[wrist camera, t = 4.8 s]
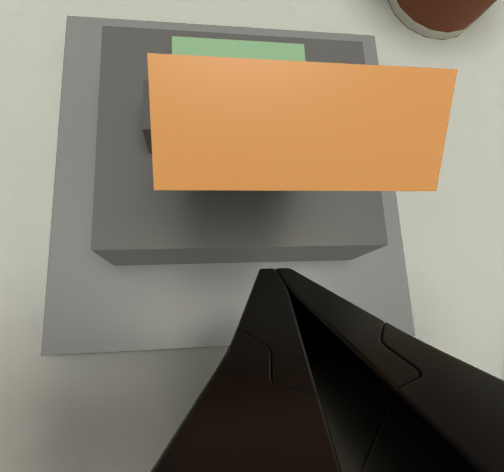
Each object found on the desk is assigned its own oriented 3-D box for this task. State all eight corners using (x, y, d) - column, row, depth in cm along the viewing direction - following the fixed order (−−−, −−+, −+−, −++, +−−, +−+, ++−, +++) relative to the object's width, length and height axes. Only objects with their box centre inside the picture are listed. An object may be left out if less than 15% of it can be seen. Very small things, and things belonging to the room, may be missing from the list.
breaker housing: (404, 335, 20) (507, 341, 13) (49, 354, 18) (-44, 373, 11) (367, 47, 24) (432, -60, 17) (72, 29, 22) (15, -104, 15)
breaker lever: (306, 152, 16) (436, 191, 7) (178, 150, 15) (153, 190, 7) (310, 98, 15) (457, 69, 7) (177, 92, 15) (147, 52, 6)
